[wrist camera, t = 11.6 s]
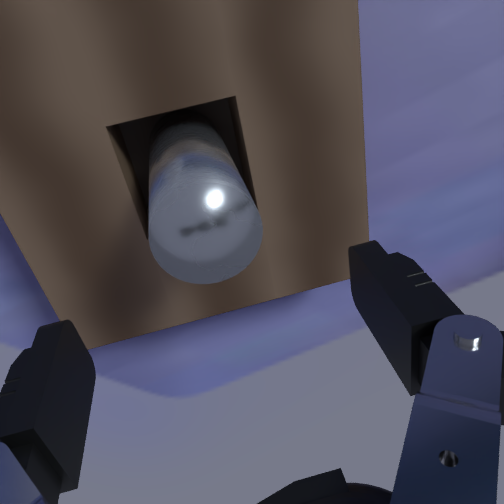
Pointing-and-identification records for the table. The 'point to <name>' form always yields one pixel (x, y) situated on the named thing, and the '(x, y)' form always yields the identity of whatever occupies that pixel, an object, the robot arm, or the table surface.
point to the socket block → (138, 135)
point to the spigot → (198, 202)
